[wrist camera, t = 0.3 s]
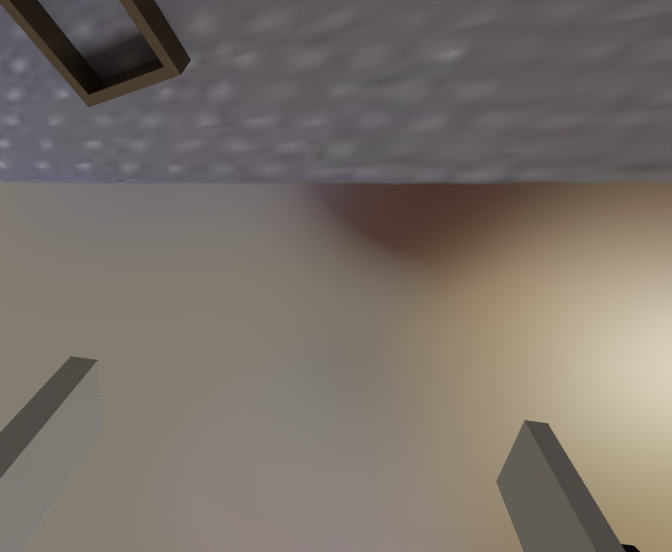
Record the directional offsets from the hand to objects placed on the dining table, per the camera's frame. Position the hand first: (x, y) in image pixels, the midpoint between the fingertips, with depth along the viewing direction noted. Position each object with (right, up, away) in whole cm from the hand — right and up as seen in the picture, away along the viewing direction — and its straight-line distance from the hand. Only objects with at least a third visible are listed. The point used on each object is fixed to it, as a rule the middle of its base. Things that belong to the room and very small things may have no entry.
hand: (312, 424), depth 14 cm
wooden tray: (-19, +27, +24) cm, 41 cm away
